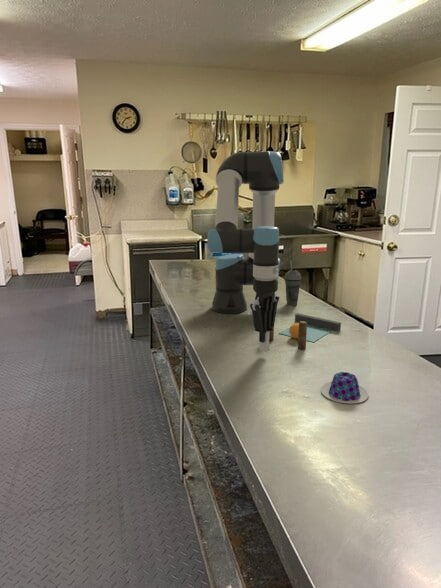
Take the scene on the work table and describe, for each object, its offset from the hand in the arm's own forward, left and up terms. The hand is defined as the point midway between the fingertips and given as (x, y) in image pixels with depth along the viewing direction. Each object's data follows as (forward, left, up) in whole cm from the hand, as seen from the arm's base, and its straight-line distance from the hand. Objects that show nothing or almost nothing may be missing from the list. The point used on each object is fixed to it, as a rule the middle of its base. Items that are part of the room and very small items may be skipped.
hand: (264, 350), depth 137 cm
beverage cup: (-22, +55, -2) cm, 59 cm away
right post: (+6, +13, -2) cm, 15 cm away
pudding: (+30, -7, -3) cm, 31 cm away
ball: (0, +20, +1) cm, 20 cm away
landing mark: (0, +27, -2) cm, 27 cm away
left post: (-6, +13, -2) cm, 15 cm away
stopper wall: (0, +36, -2) cm, 36 cm away
